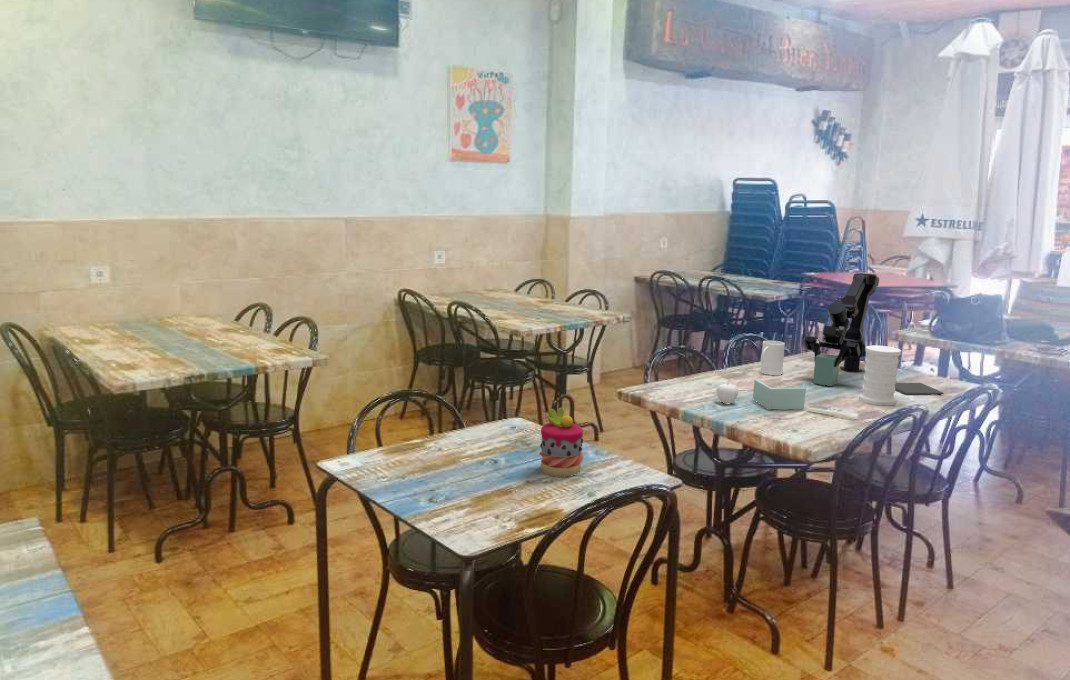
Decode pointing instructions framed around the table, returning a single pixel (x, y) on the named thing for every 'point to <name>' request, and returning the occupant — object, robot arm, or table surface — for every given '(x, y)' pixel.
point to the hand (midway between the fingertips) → (825, 364)
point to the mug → (772, 357)
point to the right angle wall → (779, 396)
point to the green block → (825, 370)
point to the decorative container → (880, 375)
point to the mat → (915, 389)
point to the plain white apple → (727, 392)
